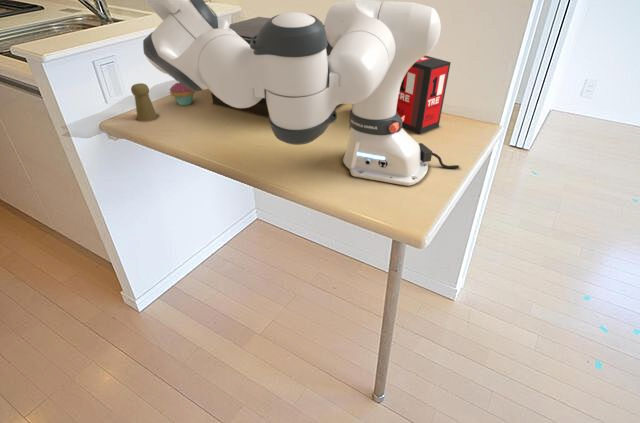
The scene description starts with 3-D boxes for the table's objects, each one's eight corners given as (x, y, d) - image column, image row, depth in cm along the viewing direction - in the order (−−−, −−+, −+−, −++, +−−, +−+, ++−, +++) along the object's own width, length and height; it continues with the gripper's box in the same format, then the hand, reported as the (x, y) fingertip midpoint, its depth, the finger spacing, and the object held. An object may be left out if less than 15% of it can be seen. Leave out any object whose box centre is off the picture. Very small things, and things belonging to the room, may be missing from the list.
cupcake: (178, 98, 148) (171, 64, 141) (200, 99, 147) (195, 65, 140) (169, 107, 141) (161, 72, 134) (192, 107, 140) (186, 73, 133)
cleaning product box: (438, 126, 128) (450, 62, 116) (420, 134, 123) (431, 67, 112) (399, 111, 138) (407, 50, 127) (381, 117, 134) (387, 55, 122)
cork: (150, 121, 130) (142, 88, 124) (133, 120, 131) (124, 86, 125) (160, 114, 135) (152, 82, 129) (144, 113, 136) (135, 80, 130)
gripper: (163, 34, 107) (196, 63, 119) (222, 44, 98) (251, 74, 111) (172, 13, 107) (204, 44, 120) (231, 21, 99) (259, 53, 111)
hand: (227, 58), depth 115 cm, fingers closed
